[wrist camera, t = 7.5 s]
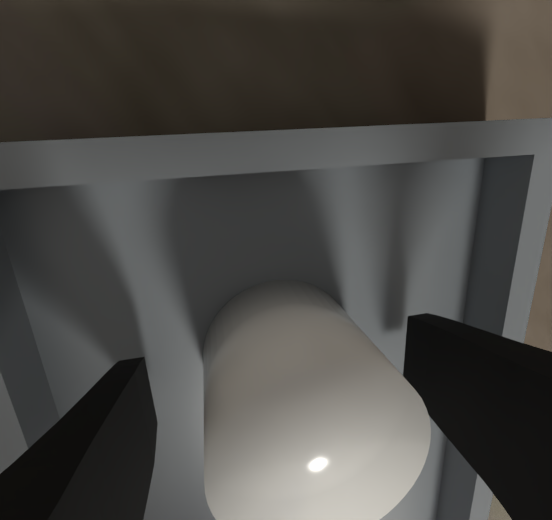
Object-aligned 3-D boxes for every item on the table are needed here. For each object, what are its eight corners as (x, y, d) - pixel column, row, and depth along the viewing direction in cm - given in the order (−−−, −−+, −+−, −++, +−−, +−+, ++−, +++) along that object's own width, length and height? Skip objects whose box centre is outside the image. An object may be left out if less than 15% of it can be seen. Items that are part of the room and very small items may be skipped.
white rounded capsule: (347, 396, 11) (421, 520, 7) (212, 422, 10) (218, 575, 7) (350, 271, 10) (441, 344, 6) (194, 290, 9) (188, 388, 5)
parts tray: (428, 563, 17) (465, 630, 14) (125, 654, 14) (110, 754, 12) (486, 125, 10) (569, 117, 8) (-38, 149, 8) (-138, 148, 6)
